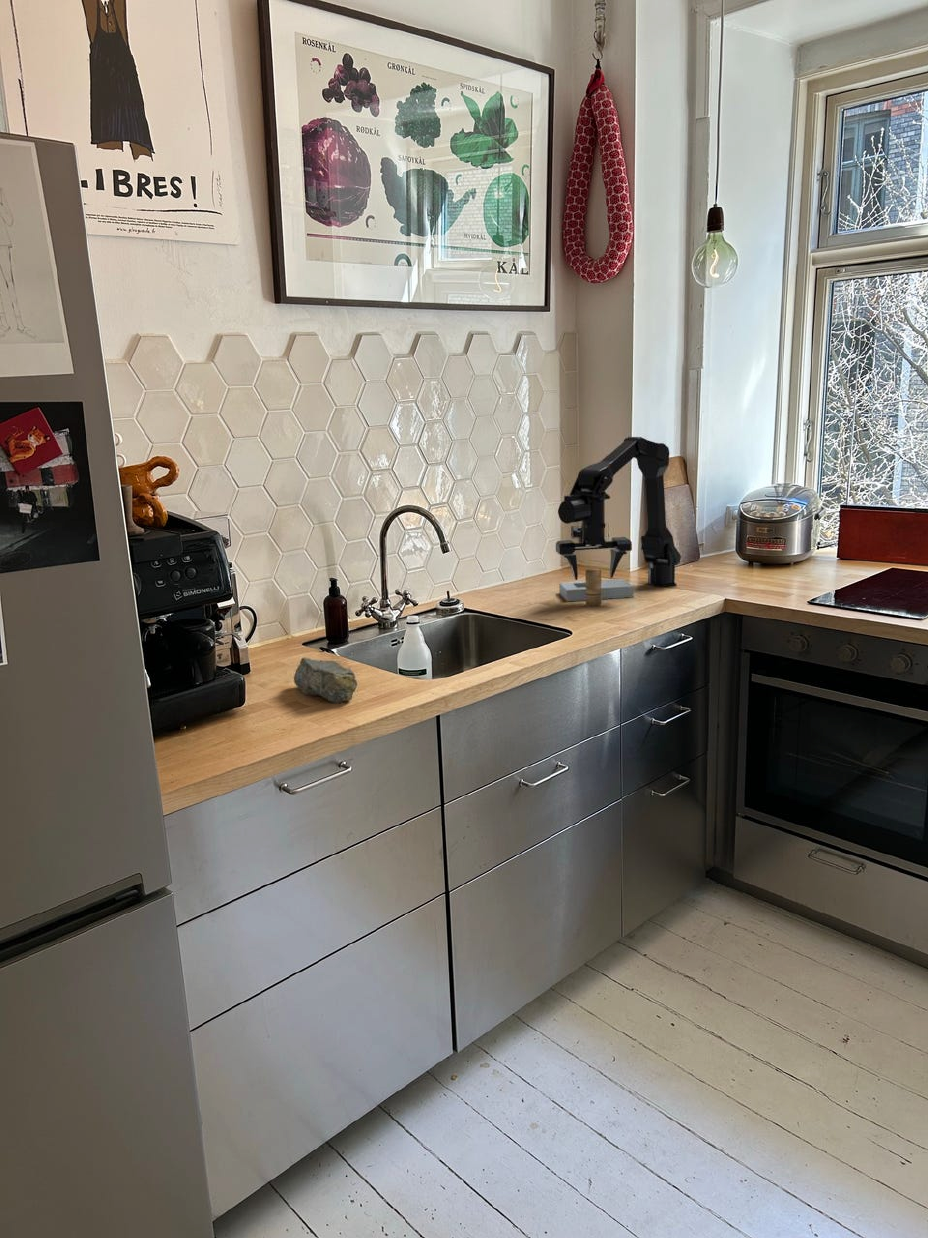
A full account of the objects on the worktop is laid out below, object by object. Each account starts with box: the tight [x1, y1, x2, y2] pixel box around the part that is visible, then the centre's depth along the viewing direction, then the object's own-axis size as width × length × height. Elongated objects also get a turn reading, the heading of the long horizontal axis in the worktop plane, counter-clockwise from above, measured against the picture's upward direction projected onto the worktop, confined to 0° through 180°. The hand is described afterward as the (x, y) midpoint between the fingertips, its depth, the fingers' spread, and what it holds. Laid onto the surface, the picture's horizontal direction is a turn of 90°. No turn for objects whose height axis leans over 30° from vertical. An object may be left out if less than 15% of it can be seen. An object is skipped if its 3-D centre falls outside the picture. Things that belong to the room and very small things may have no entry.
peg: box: [585, 568, 602, 607], centre depth 230 cm, size 4×4×9 cm
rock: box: [293, 657, 358, 704], centre depth 169 cm, size 17×7×10 cm
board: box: [558, 578, 634, 602], centre depth 241 cm, size 18×10×3 cm, turn 95°
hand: (593, 578), depth 229 cm, fingers open, 9 cm apart
